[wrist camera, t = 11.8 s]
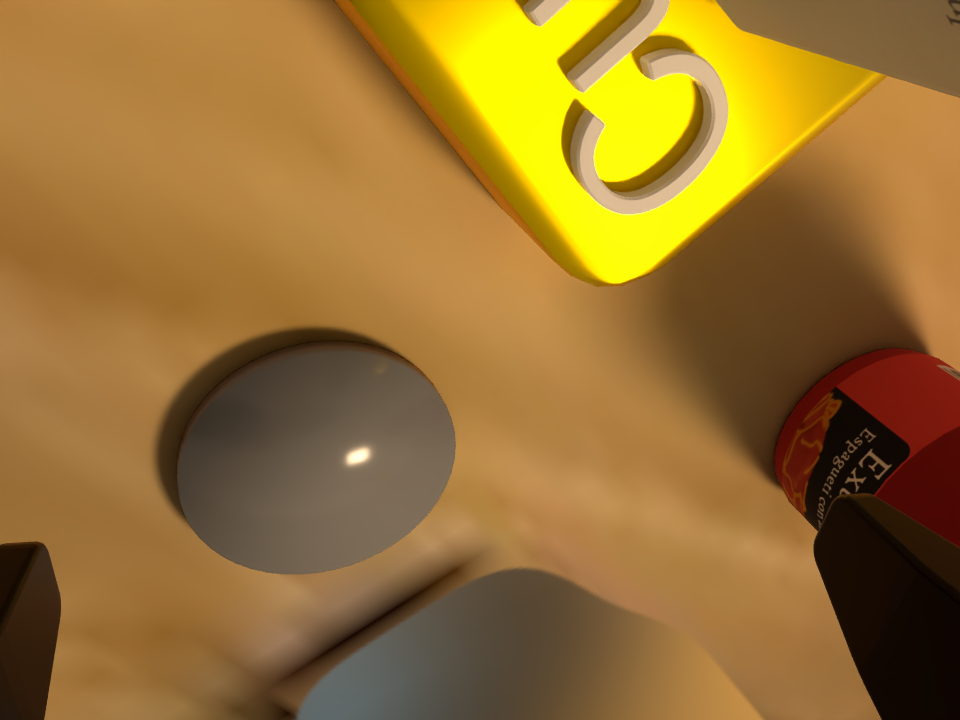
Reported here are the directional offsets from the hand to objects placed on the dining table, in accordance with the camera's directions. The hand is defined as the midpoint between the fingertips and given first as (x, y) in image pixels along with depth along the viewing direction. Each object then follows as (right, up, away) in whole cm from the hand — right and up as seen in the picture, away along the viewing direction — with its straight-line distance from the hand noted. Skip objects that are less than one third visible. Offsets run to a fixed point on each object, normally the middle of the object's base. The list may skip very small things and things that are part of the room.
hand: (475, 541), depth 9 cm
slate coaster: (-5, -1, +15) cm, 16 cm away
